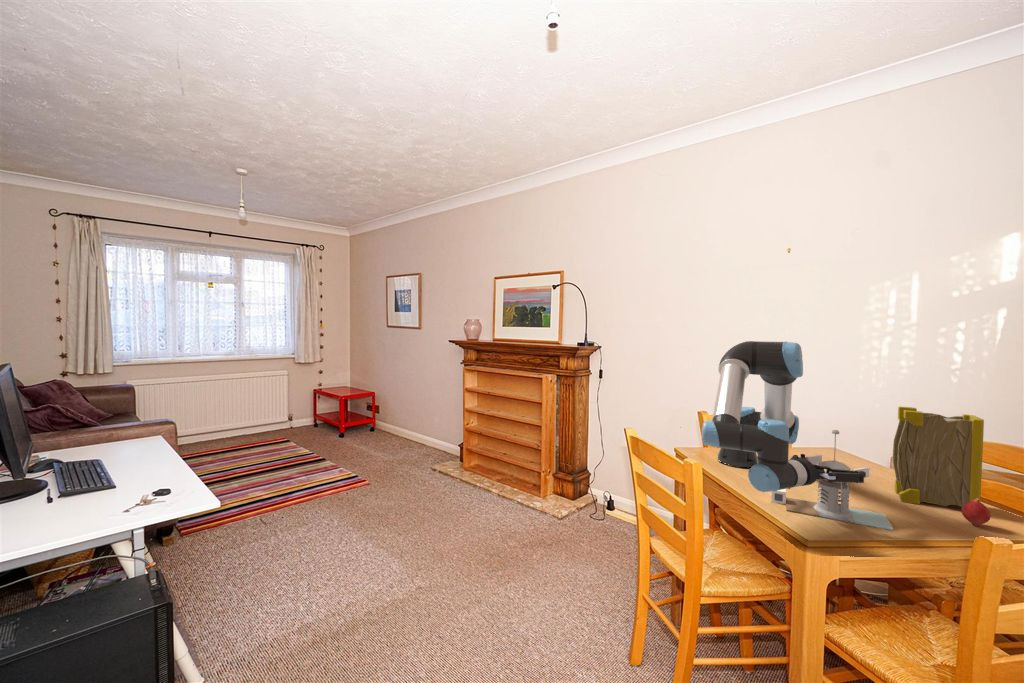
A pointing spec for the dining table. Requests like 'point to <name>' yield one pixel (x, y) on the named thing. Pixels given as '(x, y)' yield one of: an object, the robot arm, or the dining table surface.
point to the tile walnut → (801, 507)
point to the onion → (976, 512)
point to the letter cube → (779, 496)
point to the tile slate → (845, 519)
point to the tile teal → (870, 519)
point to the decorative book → (937, 457)
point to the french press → (833, 491)
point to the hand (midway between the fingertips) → (843, 465)
